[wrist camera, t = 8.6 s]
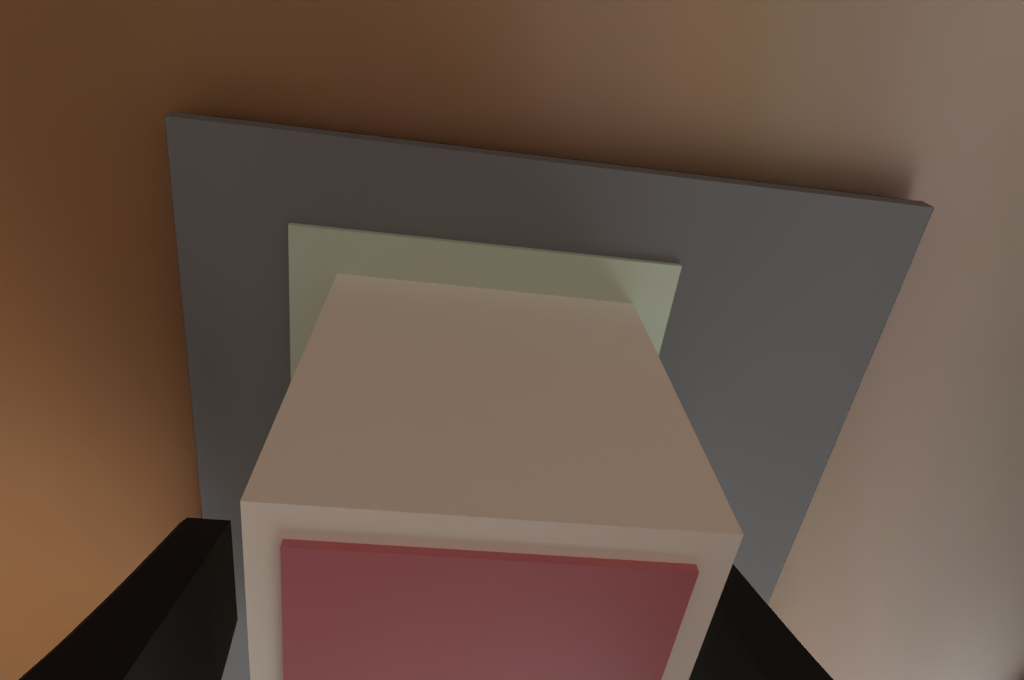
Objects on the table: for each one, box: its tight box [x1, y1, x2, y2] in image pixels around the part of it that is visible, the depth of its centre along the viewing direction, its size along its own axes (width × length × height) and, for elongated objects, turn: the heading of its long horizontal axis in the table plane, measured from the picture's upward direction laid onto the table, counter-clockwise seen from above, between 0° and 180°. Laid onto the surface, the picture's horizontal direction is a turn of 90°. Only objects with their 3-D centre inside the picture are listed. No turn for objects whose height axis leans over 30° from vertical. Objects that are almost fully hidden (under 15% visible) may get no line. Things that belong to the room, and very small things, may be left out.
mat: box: [164, 112, 934, 680], centre depth 14 cm, size 11×18×1 cm, turn 173°
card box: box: [240, 273, 744, 680], centre depth 10 cm, size 8×4×5 cm, turn 172°
